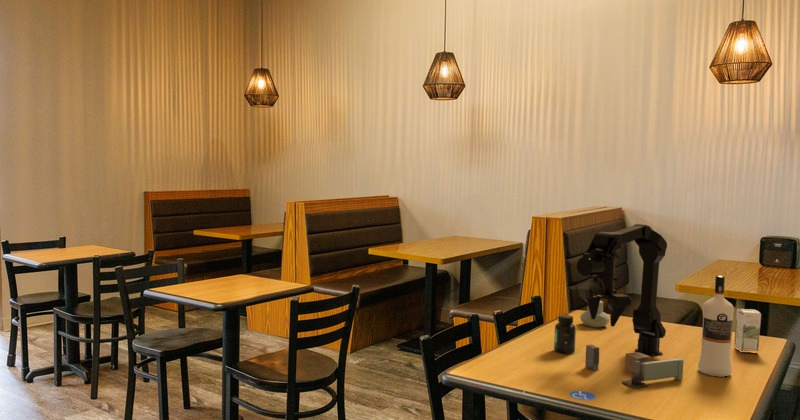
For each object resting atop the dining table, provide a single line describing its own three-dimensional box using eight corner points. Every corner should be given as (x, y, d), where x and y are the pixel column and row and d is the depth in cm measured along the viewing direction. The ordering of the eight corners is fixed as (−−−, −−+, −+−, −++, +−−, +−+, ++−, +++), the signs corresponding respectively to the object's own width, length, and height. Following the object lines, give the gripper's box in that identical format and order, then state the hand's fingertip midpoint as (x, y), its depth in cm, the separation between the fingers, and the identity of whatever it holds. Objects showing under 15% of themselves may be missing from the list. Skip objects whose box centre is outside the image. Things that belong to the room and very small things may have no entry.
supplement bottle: (552, 353, 209) (554, 317, 208) (555, 347, 215) (556, 313, 215) (573, 355, 207) (575, 319, 206) (575, 350, 213) (577, 315, 212)
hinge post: (635, 381, 183) (636, 357, 182) (648, 386, 178) (649, 362, 178) (622, 383, 181) (623, 359, 180) (634, 388, 176) (635, 364, 176)
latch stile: (591, 366, 195) (592, 344, 195) (599, 370, 192) (600, 347, 192) (585, 367, 195) (586, 345, 194) (592, 370, 191) (593, 348, 191)
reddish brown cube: (637, 367, 196) (638, 352, 195) (649, 372, 191) (650, 356, 191) (624, 369, 194) (625, 353, 193) (636, 374, 189) (637, 358, 189)
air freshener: (581, 327, 245) (582, 302, 244) (578, 322, 253) (580, 298, 252) (610, 329, 243) (611, 304, 242) (607, 324, 251) (608, 299, 251)
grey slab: (641, 384, 179) (642, 364, 179) (637, 382, 181) (638, 362, 180) (682, 379, 185) (683, 359, 185) (677, 377, 187) (678, 358, 186)
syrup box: (750, 349, 220) (753, 308, 219) (758, 354, 214) (761, 312, 213) (733, 348, 220) (736, 307, 219) (741, 353, 214) (743, 311, 214)
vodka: (728, 370, 195) (734, 274, 193) (734, 379, 187) (740, 279, 185) (695, 366, 198) (701, 272, 196) (700, 375, 189) (705, 277, 187)
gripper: (565, 269, 201) (563, 317, 202) (603, 279, 183) (600, 332, 185) (593, 268, 205) (591, 315, 206) (633, 278, 187) (631, 329, 188)
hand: (602, 322), depth 196 cm, fingers open, 9 cm apart
